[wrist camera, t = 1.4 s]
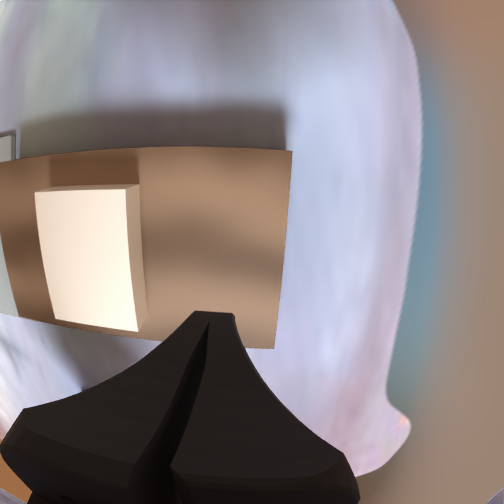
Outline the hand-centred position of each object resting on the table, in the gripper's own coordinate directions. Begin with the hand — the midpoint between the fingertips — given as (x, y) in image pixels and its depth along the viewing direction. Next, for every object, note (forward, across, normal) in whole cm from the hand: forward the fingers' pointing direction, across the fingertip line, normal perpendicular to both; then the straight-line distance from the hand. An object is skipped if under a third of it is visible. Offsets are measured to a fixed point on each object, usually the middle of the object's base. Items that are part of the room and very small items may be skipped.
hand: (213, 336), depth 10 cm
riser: (+10, +7, 0) cm, 13 cm away
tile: (+7, +8, 0) cm, 11 cm away
